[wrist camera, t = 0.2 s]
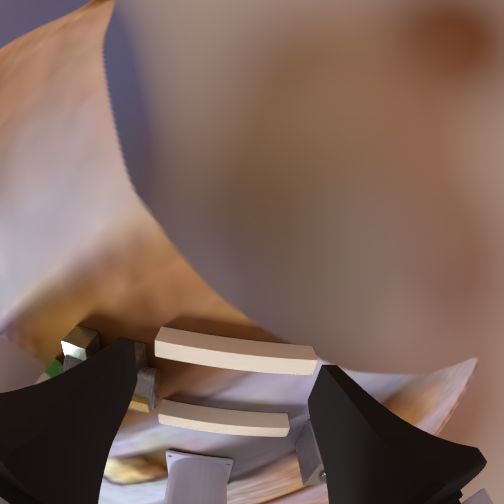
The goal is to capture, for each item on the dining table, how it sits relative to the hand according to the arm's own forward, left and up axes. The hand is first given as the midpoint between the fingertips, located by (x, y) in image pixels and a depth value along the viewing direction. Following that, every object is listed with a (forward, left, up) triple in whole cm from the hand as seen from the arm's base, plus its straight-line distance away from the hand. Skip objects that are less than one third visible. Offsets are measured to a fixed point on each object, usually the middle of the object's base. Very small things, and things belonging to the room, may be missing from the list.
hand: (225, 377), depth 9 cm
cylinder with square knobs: (-10, +9, -10) cm, 17 cm away
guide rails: (-10, -1, -10) cm, 14 cm away
